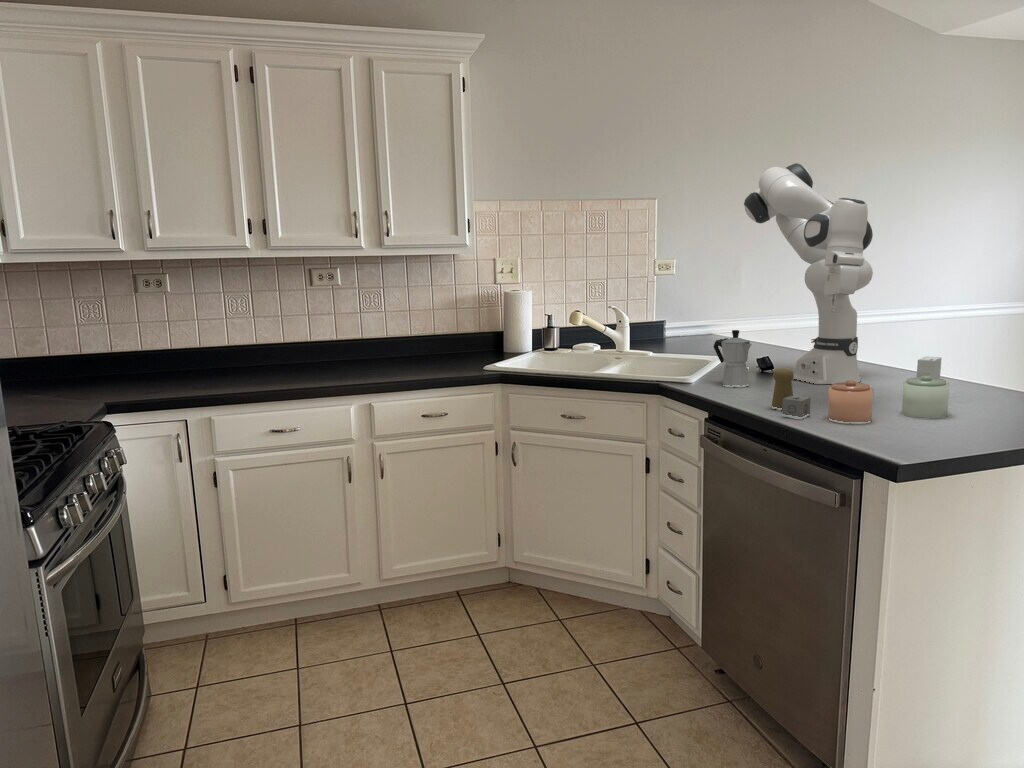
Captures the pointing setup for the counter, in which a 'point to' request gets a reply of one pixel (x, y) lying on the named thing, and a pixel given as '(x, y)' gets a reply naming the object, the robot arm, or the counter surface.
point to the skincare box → (929, 367)
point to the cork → (782, 386)
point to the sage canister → (925, 397)
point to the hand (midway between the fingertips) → (835, 312)
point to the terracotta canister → (850, 402)
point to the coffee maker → (734, 359)
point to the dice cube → (796, 406)
